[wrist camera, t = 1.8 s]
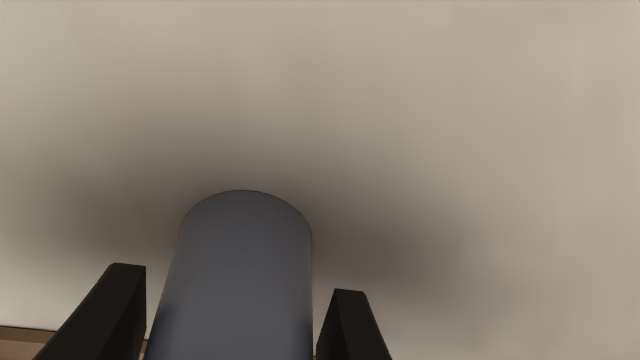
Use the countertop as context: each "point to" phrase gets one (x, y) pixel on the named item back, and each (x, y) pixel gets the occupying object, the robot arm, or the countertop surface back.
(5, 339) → the picture frame
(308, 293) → the bottle
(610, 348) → the countertop surface
